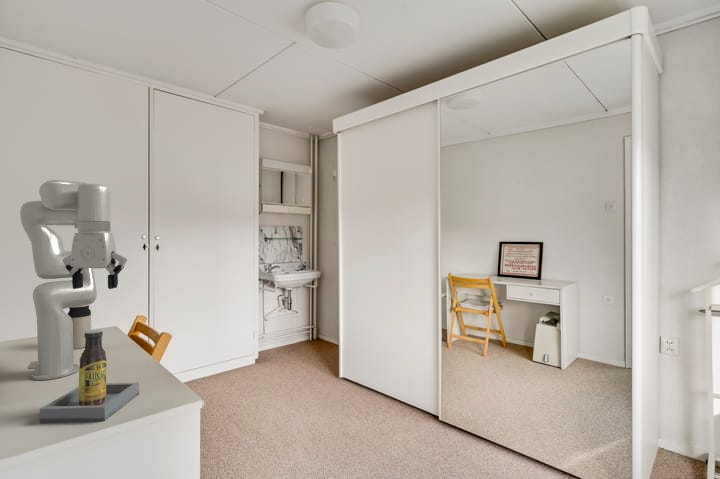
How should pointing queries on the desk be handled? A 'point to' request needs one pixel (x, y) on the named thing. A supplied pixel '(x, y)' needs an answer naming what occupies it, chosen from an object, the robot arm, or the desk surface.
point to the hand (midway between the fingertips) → (95, 288)
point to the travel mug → (80, 324)
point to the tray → (72, 412)
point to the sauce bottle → (92, 370)
